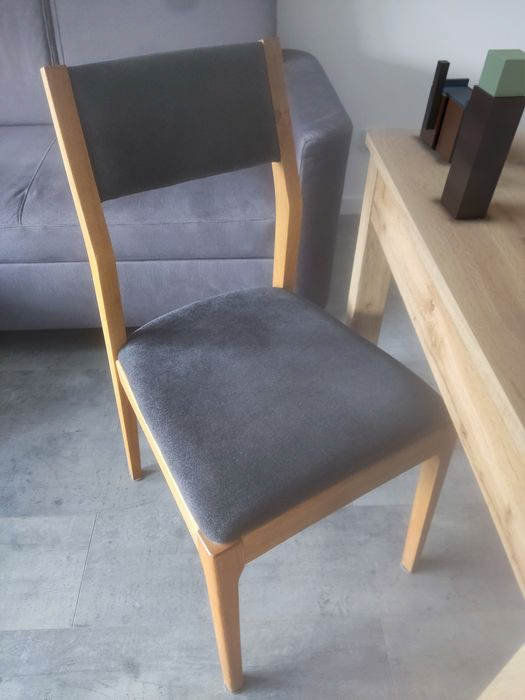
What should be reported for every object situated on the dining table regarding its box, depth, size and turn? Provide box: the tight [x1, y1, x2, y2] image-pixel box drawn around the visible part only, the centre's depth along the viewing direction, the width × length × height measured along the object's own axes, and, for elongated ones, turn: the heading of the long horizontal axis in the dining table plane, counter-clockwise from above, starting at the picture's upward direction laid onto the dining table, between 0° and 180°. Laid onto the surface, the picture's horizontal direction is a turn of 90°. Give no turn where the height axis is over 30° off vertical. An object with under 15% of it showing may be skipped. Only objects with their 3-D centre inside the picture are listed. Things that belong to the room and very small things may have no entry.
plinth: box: [439, 84, 525, 220], centre depth 68 cm, size 4×5×16 cm
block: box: [477, 48, 525, 97], centre depth 62 cm, size 4×4×4 cm
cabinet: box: [433, 77, 473, 164], centre depth 85 cm, size 6×10×10 cm, turn 11°
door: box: [419, 59, 451, 149], centre depth 85 cm, size 2×5×13 cm, turn 11°
